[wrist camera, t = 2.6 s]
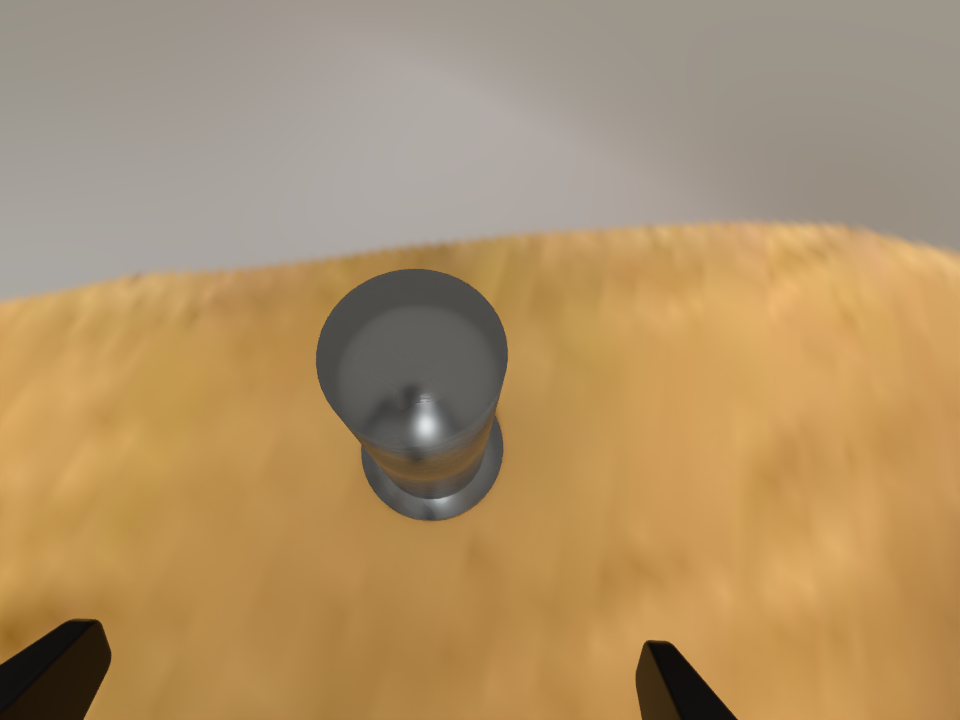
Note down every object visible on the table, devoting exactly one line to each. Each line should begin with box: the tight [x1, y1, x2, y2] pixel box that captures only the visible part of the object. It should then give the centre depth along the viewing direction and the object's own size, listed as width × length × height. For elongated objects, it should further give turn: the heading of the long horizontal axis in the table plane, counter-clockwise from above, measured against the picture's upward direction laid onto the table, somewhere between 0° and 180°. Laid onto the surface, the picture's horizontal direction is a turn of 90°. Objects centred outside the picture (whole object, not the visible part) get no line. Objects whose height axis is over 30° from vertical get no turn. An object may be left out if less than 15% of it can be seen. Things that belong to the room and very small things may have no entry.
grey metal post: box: [316, 269, 508, 521], centre depth 17 cm, size 6×6×11 cm
